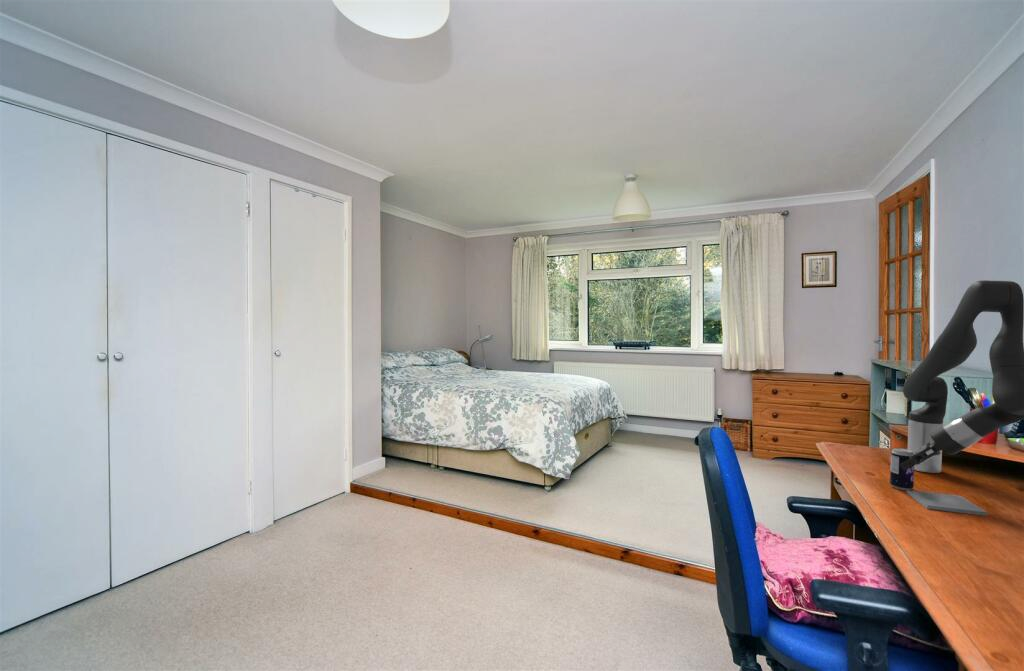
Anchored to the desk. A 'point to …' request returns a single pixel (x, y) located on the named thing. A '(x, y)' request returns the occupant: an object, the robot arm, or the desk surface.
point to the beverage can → (901, 470)
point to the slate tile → (946, 502)
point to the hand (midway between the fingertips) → (904, 465)
